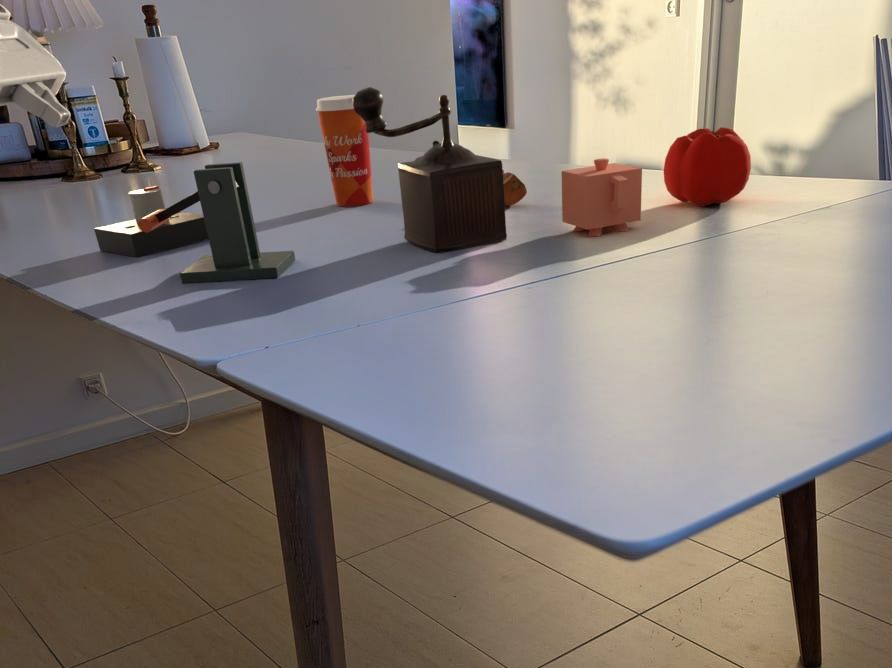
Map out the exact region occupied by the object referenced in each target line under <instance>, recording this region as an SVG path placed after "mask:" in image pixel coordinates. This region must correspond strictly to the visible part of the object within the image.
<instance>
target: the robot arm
mask: <svg viewBox="0 0 892 668" xmlns="http://www.w3.org/2000/svg"><path fill="white" fill-rule="evenodd" d="M10 18H11V12H10V11H9V10H8V9H7V8H6V7H5V6H4V5H2V4H1V3H0V107H3V106H8V105H14V104H16V105H17V106H19V108H20V109H22V110H24V111H26V112H28V113H30V114H32V115H34V116H35V117H38V118H40V119H41V120H42V121H44V122H45V123H46V124H47V125H48V126H50V127H51V128H58V127H61V126H62V127H63V126H67V124H68V123H69V120H70V118H71V117H72V116H71V115H72V114H71V112H70V111H69V110H68V109H67V108H66V107H65V106H64V105H62V104H61V103H60V102H59V99H57V97H56V95H58V93H59V91H60V88H61V87H62V85H63V83H64V81H65V79H66V77H67V72H66V70H65V69H64V67H63V66H62V64H61V62H59V61H58V59H57V58H56V57H55V56H54V55H52V53H50V51H49V50H47V49H46V48H45V46H43V45H42V44H41V43H40V42H39V41H38V40H37V39H35V38H34V37H33V35H31V34H30V33H29V32H28V31H27V30H25V28H23V27H22V26H21V25H19V24H17V23H16V22H14V21H12V20H10Z"/></svg>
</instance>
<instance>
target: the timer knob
mask: <svg viewBox="0 0 892 668" xmlns="http://www.w3.org/2000/svg"><path fill="white" fill-rule="evenodd" d="M128 196H129V201H130V203H131V208H132V212H133V216H134V220H136V223H137V224H139V221H140V220H141V219H142V218H144V217H146V216H148V215H150V214H152V213H154V212H156V211H158V210H159V209H166V206H165V201H164V198H163V193H162V190H161V188H160V186H159V185H154V186H149V187H145V188H141V189H136V190H131V191H129V192H128Z"/></svg>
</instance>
